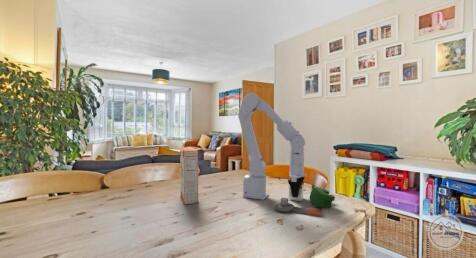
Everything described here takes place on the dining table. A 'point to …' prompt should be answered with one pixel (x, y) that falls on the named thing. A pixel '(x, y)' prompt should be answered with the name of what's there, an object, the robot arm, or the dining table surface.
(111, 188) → the dining table surface
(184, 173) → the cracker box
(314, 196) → the clamp
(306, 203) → the dining table surface
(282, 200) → the ratchet
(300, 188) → the socket
